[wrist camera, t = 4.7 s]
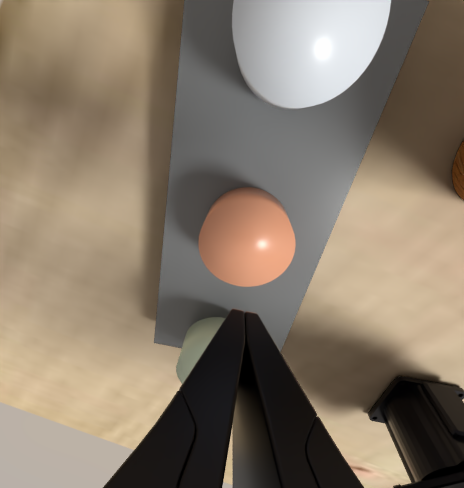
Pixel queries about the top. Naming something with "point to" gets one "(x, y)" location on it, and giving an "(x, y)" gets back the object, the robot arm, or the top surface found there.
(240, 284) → the button terracotta
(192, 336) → the button sage
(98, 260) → the top surface
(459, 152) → the disposable coffee cup
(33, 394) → the top surface
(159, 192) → the top surface
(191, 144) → the panel
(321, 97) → the button bluegrey
